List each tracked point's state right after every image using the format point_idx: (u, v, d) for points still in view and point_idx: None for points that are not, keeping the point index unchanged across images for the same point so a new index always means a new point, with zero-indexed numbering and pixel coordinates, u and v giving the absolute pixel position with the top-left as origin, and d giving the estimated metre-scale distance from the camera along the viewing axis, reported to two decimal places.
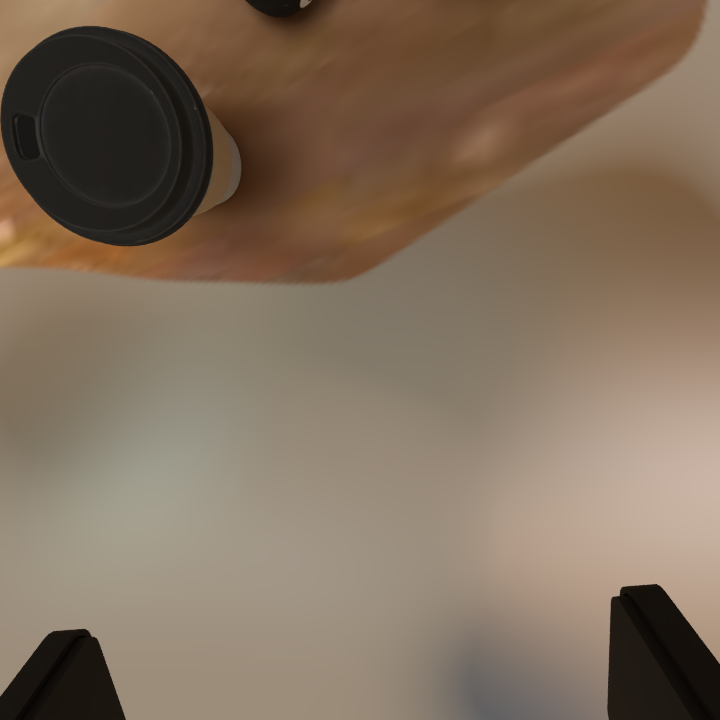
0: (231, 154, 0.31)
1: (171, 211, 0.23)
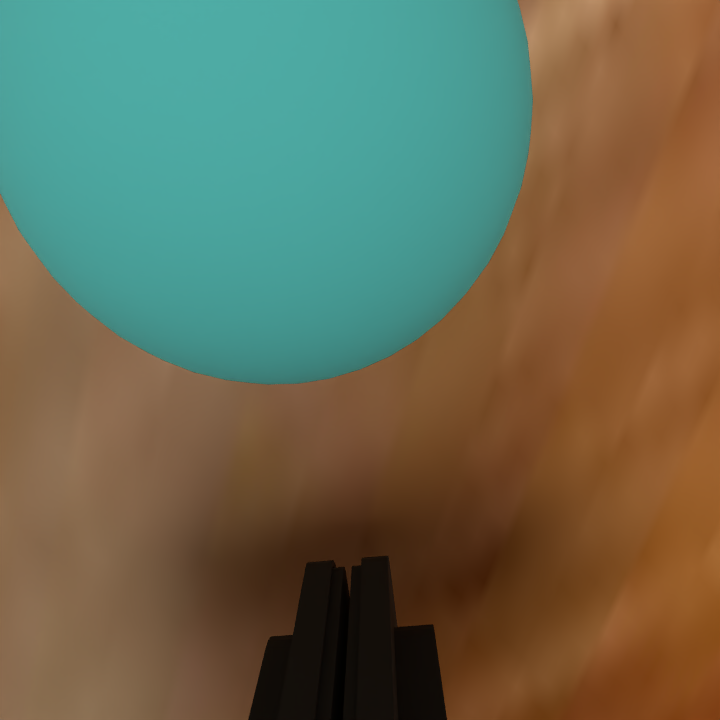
0: None
1: None
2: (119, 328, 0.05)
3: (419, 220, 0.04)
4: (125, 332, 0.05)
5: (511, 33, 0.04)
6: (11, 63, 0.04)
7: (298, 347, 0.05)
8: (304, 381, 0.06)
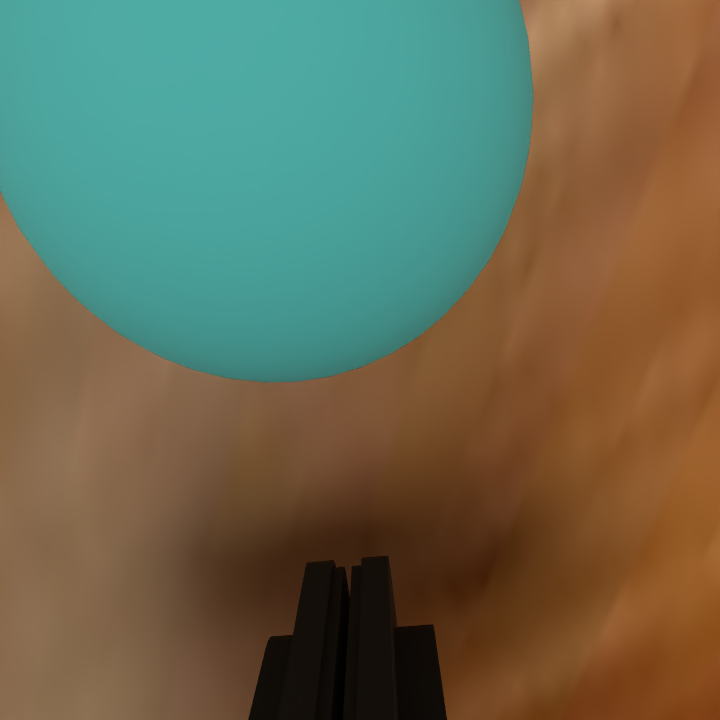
0: None
1: None
2: (119, 326, 0.05)
3: (419, 217, 0.04)
4: (125, 330, 0.05)
5: (512, 30, 0.04)
6: (12, 60, 0.04)
7: (299, 345, 0.05)
8: (304, 379, 0.06)
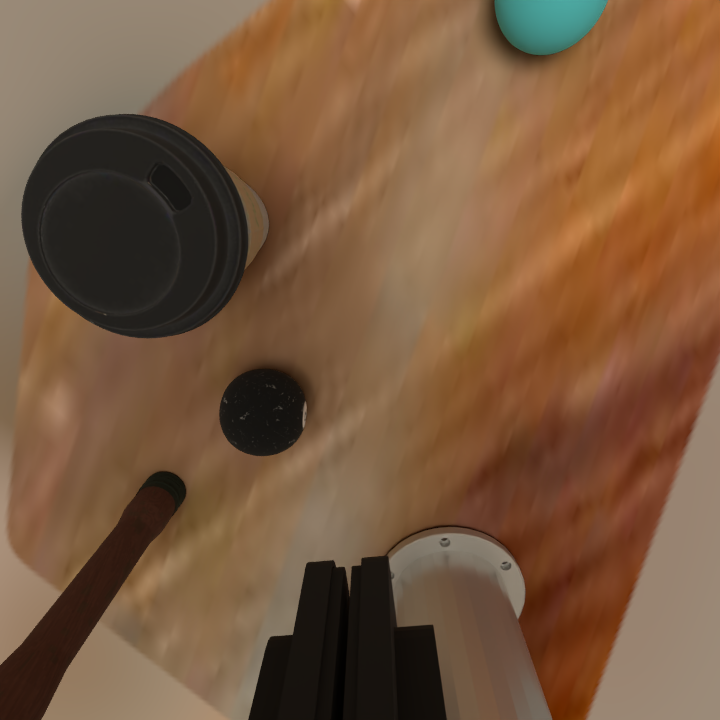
0: None
1: None
2: (533, 19, 0.26)
3: None
4: (534, 20, 0.26)
5: None
6: None
7: (571, 20, 0.26)
8: (560, 41, 0.27)
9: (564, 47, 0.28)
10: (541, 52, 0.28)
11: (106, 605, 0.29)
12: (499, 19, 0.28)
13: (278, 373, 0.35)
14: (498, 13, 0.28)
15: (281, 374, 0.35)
